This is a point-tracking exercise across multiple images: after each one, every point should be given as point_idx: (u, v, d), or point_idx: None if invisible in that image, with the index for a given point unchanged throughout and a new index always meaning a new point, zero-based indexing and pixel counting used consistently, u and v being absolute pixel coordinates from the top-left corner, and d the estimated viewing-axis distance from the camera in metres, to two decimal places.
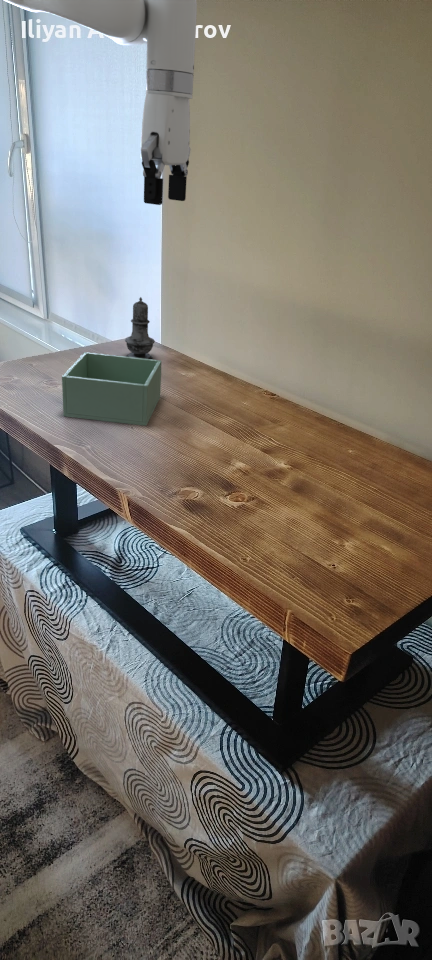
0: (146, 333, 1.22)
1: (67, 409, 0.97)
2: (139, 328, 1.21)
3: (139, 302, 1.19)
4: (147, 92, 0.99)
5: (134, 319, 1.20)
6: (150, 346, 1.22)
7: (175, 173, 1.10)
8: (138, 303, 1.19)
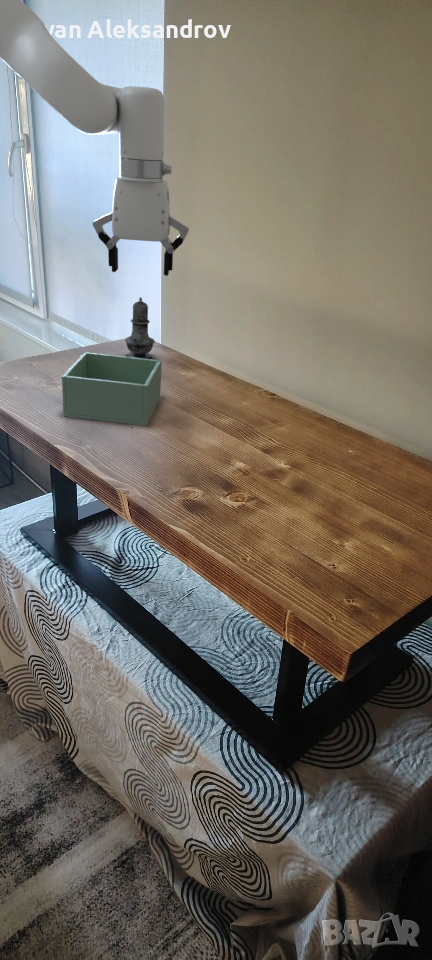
0: (146, 333, 1.22)
1: (67, 409, 0.97)
2: (139, 328, 1.21)
3: (139, 302, 1.19)
4: None
5: (134, 319, 1.20)
6: (150, 346, 1.22)
7: None
8: (138, 303, 1.19)
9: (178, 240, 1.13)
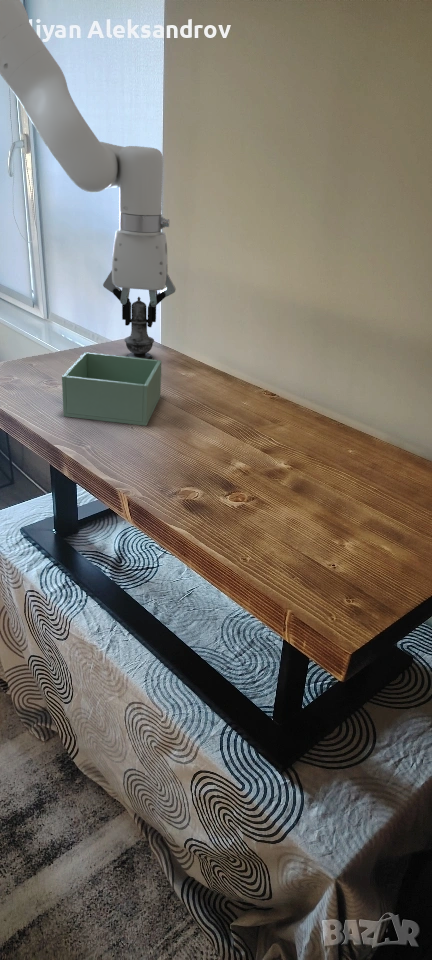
0: (145, 332, 1.22)
1: (67, 409, 0.97)
2: (138, 328, 1.21)
3: (138, 301, 1.19)
4: None
5: (133, 319, 1.20)
6: (150, 345, 1.22)
7: None
8: (136, 303, 1.19)
9: (161, 294, 1.18)
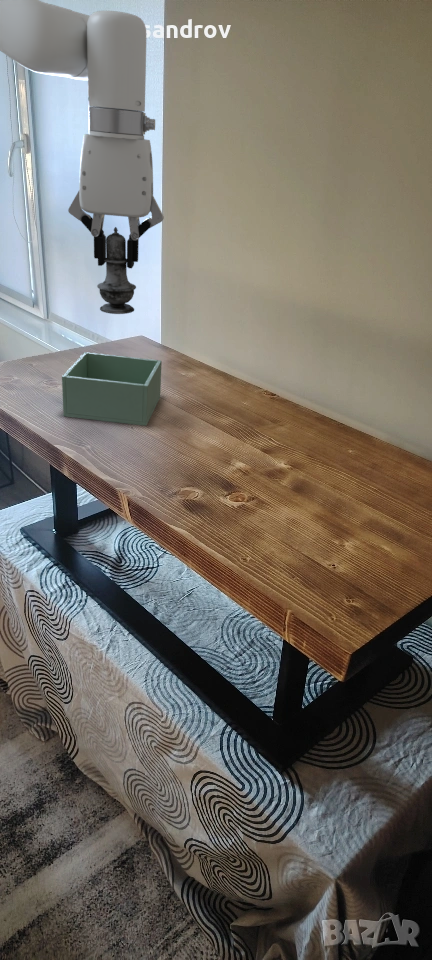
0: (124, 275, 0.94)
1: (67, 409, 0.97)
2: (114, 269, 0.93)
3: (114, 233, 0.91)
4: None
5: (108, 257, 0.92)
6: (130, 293, 0.94)
7: None
8: (112, 235, 0.91)
9: (144, 224, 0.90)
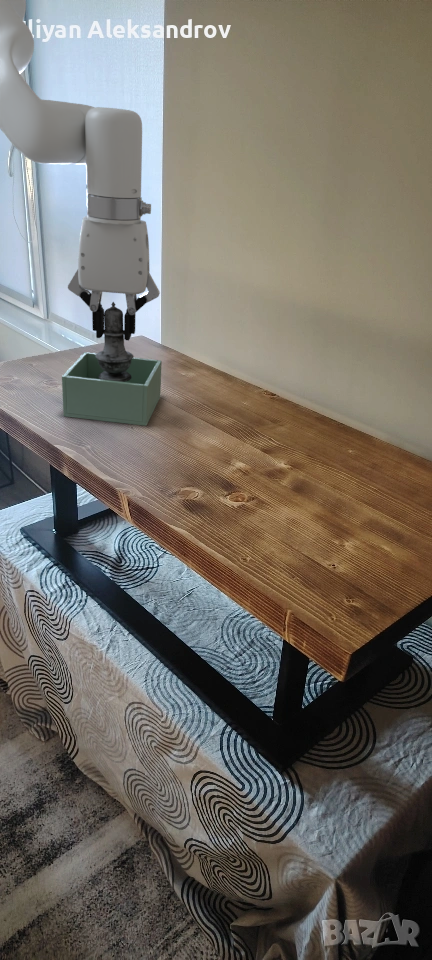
0: (121, 346, 0.97)
1: (67, 409, 0.97)
2: (112, 341, 0.96)
3: (112, 308, 0.95)
4: None
5: (106, 330, 0.96)
6: (127, 363, 0.98)
7: None
8: (110, 310, 0.94)
9: (141, 299, 0.93)
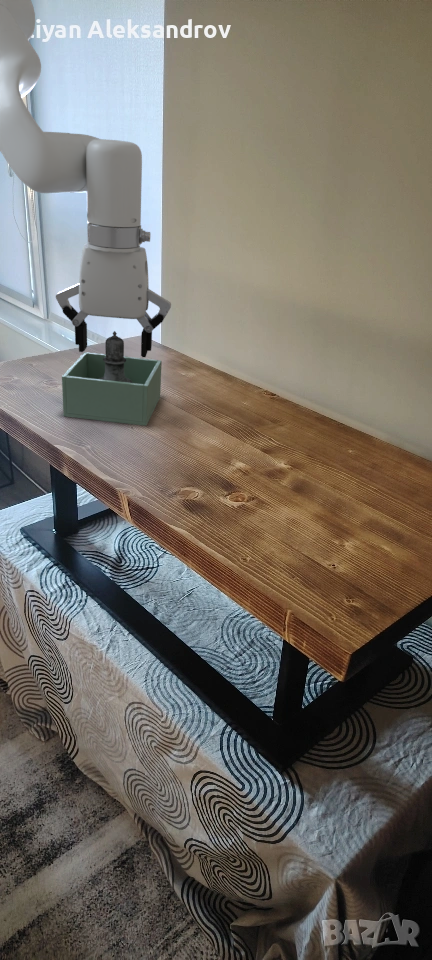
0: (121, 374, 0.99)
1: (67, 409, 0.97)
2: (113, 369, 0.98)
3: (113, 337, 0.97)
4: None
5: (107, 358, 0.98)
6: None
7: None
8: (111, 339, 0.97)
9: (158, 317, 0.95)
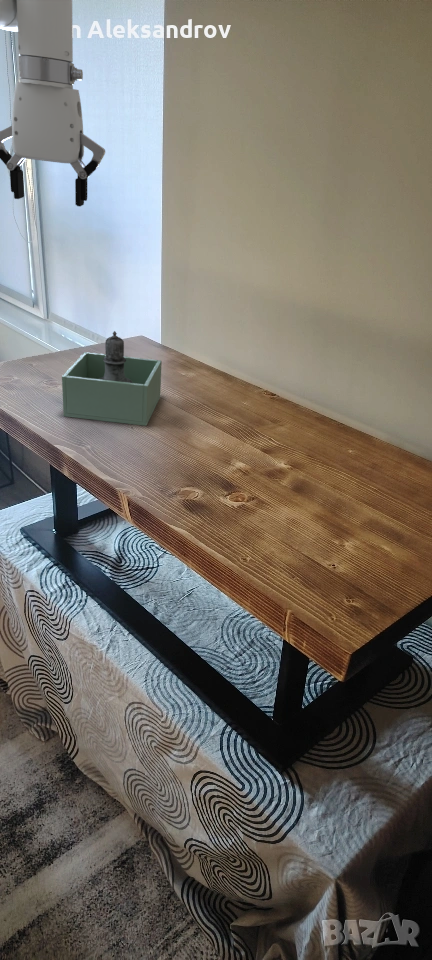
0: (121, 374, 0.99)
1: (67, 409, 0.97)
2: (113, 369, 0.98)
3: (113, 337, 0.97)
4: None
5: (107, 358, 0.98)
6: None
7: None
8: (111, 339, 0.97)
9: (92, 163, 0.96)
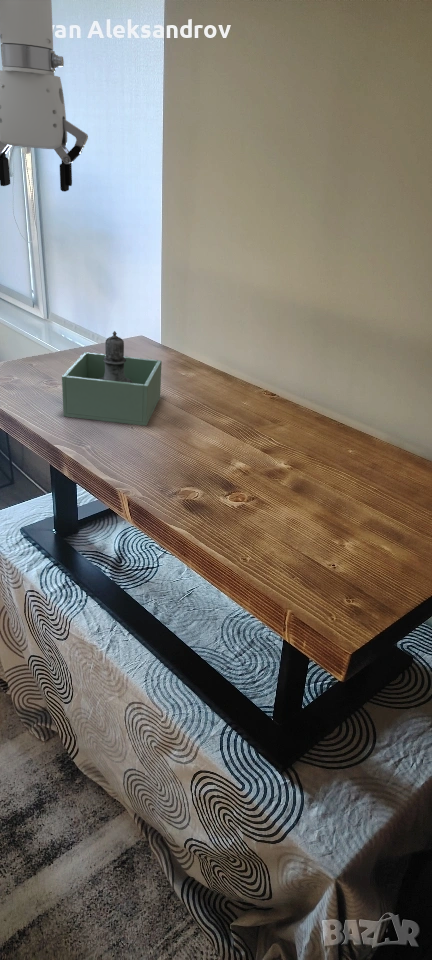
0: (121, 374, 0.99)
1: (67, 409, 0.97)
2: (113, 369, 0.98)
3: (113, 337, 0.97)
4: None
5: (107, 358, 0.98)
6: None
7: None
8: (111, 339, 0.97)
9: (75, 148, 0.98)
